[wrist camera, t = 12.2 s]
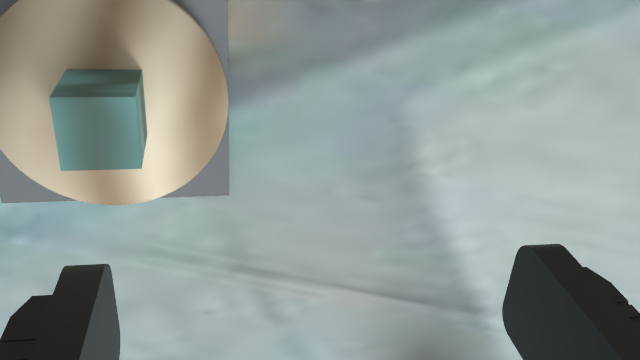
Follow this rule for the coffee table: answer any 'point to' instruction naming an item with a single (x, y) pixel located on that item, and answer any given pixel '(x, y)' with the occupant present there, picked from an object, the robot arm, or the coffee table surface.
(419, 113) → the coffee table surface
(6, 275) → the coffee table surface
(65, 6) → the lid
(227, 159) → the mat
